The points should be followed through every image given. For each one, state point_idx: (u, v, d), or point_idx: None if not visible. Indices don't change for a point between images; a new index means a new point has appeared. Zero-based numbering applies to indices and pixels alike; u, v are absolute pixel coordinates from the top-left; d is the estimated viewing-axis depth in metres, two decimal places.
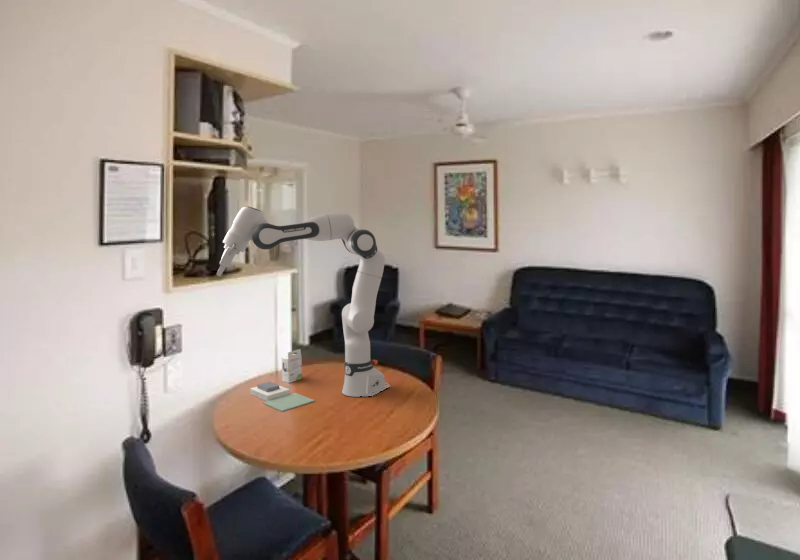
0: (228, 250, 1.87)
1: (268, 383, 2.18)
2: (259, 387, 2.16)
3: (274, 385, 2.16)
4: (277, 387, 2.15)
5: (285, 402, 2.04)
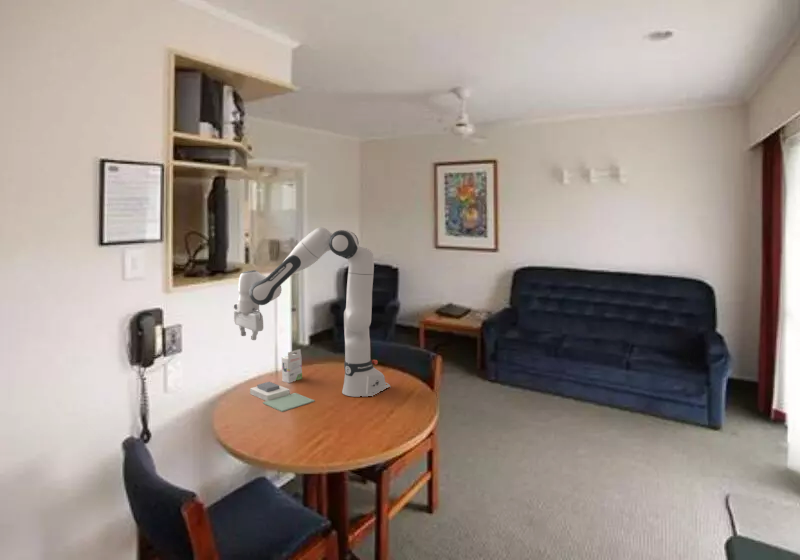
0: (257, 317, 2.11)
1: (268, 383, 2.18)
2: (259, 387, 2.16)
3: (274, 385, 2.16)
4: (277, 387, 2.15)
5: (285, 402, 2.04)
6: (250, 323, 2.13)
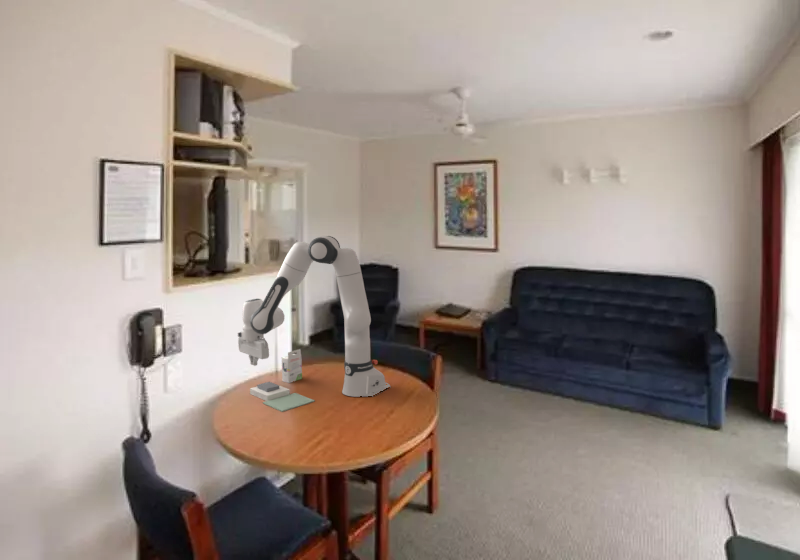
0: (262, 345, 2.14)
1: (268, 383, 2.18)
2: (259, 387, 2.16)
3: (274, 385, 2.16)
4: (277, 387, 2.15)
5: (285, 402, 2.04)
6: (256, 351, 2.17)
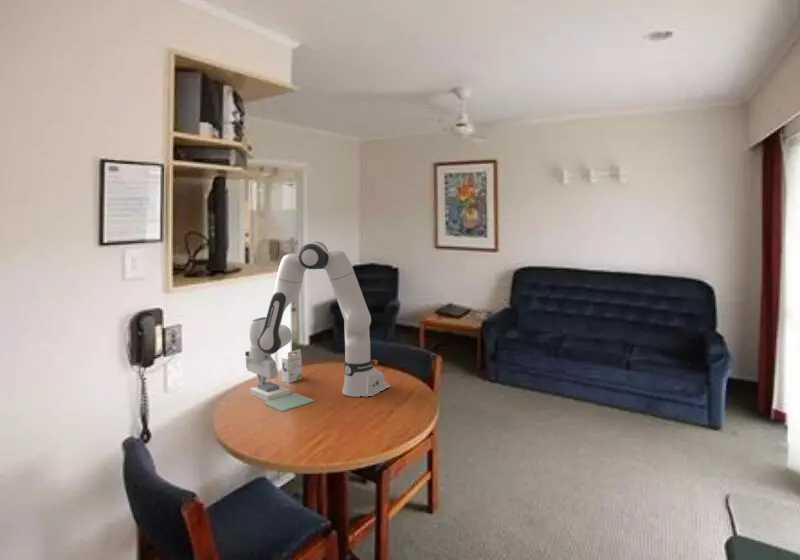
0: (270, 365, 2.12)
1: (268, 383, 2.18)
2: (259, 387, 2.16)
3: (274, 385, 2.16)
4: (277, 387, 2.15)
5: (285, 402, 2.04)
6: (264, 370, 2.14)
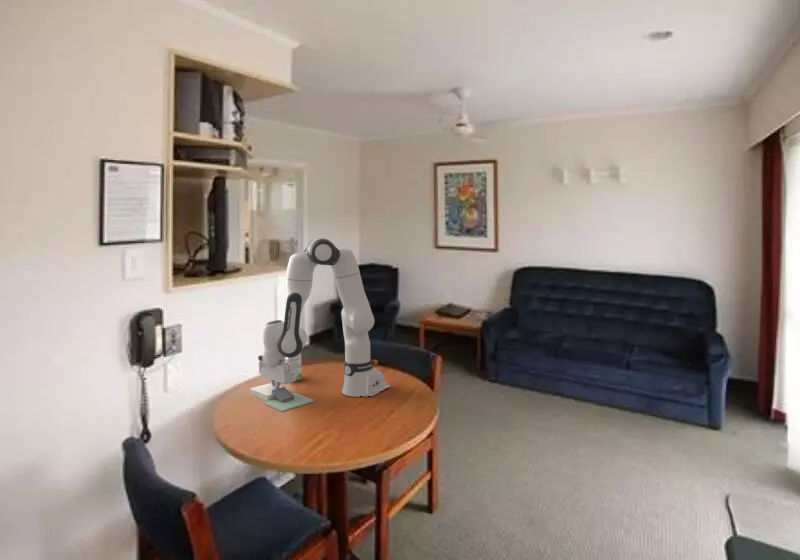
0: (285, 370, 2.04)
1: (283, 390, 2.11)
2: (273, 393, 2.08)
3: (289, 395, 2.08)
4: (292, 397, 2.08)
5: (285, 402, 2.04)
6: (278, 375, 2.07)
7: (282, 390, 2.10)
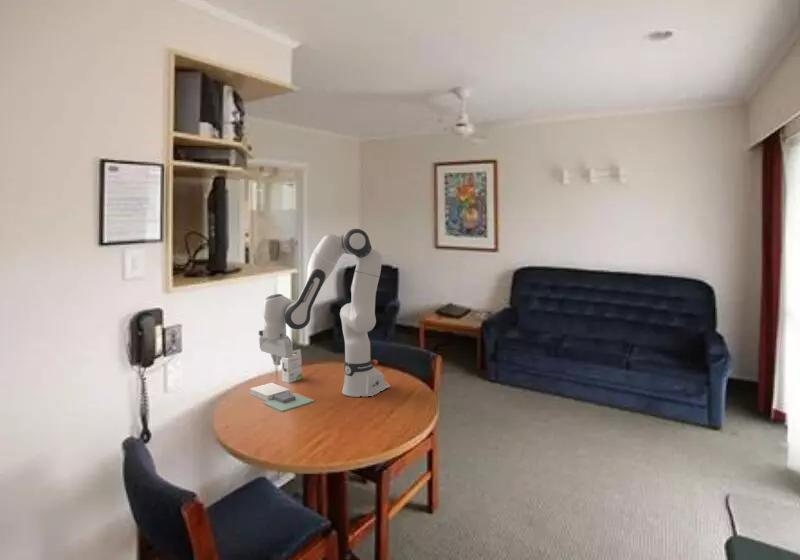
0: (286, 344, 2.02)
1: (284, 394, 2.10)
2: (274, 398, 2.08)
3: (290, 396, 2.08)
4: (293, 398, 2.07)
5: None
6: (279, 349, 2.04)
7: (283, 394, 2.10)
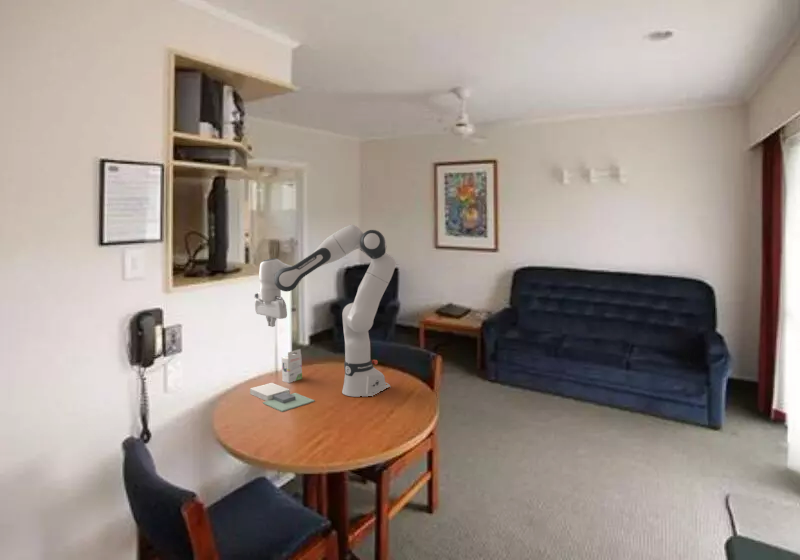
0: (280, 304, 2.10)
1: (284, 394, 2.10)
2: (274, 398, 2.08)
3: (290, 396, 2.08)
4: (293, 398, 2.07)
5: None
6: (274, 311, 2.13)
7: (283, 394, 2.10)
